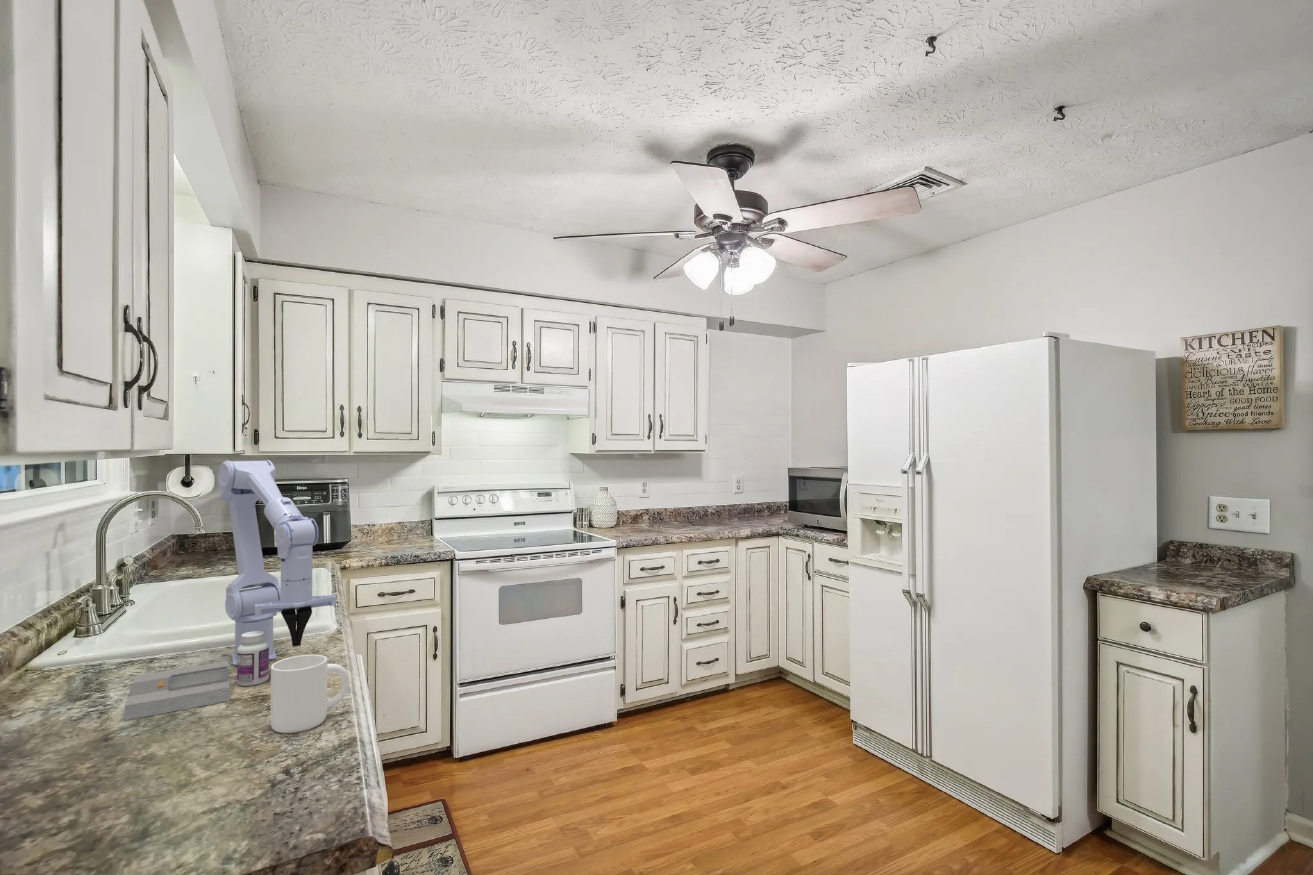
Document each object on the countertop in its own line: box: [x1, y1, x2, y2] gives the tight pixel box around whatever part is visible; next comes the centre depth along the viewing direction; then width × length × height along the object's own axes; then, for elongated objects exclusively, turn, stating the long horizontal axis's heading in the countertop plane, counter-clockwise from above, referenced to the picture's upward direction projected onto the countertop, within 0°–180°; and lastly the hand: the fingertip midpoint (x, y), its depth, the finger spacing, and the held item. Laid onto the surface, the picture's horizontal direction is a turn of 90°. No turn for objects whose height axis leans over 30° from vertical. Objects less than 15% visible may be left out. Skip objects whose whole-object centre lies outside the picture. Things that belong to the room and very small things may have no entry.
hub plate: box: [124, 660, 231, 721], centre depth 121 cm, size 18×15×3 cm
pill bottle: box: [236, 631, 270, 687], centre depth 128 cm, size 5×5×10 cm
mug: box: [270, 654, 351, 734], centre depth 110 cm, size 12×8×10 cm
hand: (296, 645), depth 132 cm, fingers closed
